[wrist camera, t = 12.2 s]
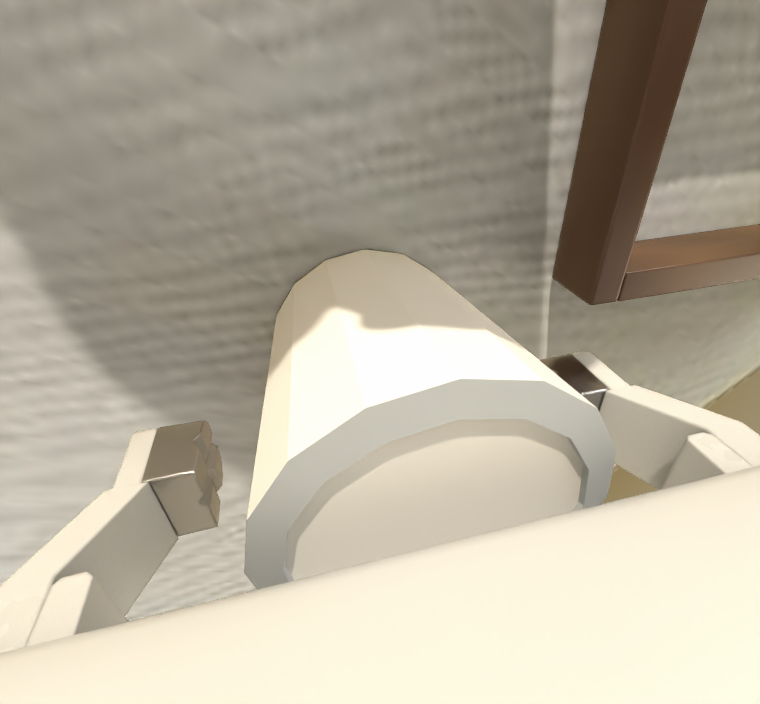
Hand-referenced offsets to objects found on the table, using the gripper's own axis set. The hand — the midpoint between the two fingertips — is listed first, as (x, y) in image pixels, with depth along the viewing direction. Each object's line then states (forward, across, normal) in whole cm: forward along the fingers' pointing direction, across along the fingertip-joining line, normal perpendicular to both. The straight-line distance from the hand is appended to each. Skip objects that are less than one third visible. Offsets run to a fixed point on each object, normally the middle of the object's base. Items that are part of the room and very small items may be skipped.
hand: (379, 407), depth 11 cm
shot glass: (+3, 0, 0) cm, 3 cm away
